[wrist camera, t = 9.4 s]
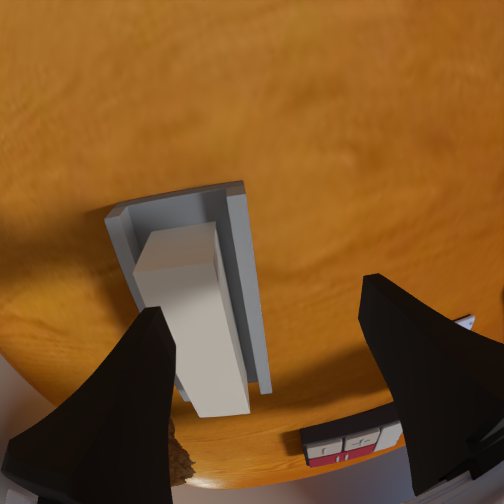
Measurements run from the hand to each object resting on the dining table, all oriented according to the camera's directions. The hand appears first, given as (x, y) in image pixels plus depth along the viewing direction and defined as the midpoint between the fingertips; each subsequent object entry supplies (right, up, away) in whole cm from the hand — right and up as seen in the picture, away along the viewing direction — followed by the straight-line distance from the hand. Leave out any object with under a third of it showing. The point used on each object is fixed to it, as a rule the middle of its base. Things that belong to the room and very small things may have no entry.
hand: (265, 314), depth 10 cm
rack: (-4, -2, +12) cm, 12 cm away
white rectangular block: (-4, -2, +11) cm, 12 cm away
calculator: (+14, -24, +27) cm, 38 cm away
